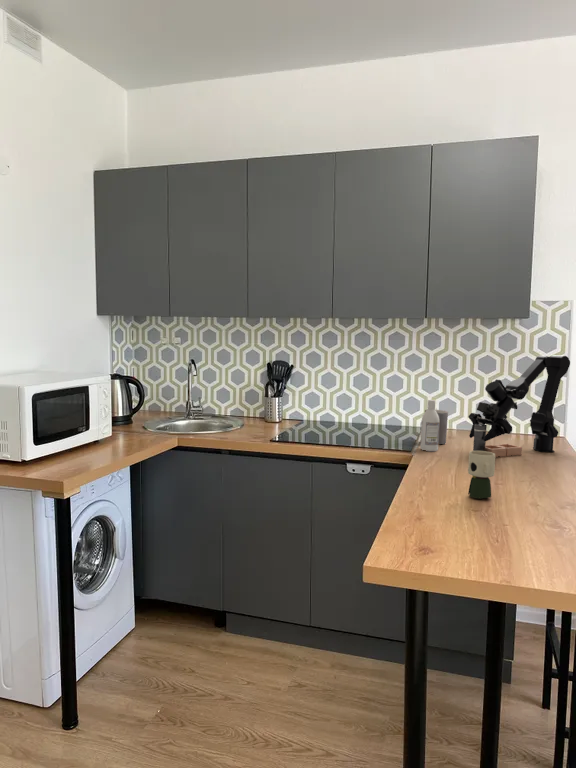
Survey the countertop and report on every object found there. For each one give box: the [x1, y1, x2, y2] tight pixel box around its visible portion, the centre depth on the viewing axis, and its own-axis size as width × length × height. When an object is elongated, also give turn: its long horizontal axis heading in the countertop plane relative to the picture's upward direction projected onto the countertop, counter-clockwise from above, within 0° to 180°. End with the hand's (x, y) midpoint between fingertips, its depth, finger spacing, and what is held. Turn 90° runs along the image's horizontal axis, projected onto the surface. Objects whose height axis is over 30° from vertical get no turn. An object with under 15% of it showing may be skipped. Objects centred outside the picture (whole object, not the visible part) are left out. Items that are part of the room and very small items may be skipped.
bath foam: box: [419, 399, 440, 452], centre depth 236 cm, size 7×7×20 cm
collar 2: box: [495, 443, 523, 457], centre depth 235 cm, size 7×7×3 cm
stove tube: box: [472, 424, 488, 451], centre depth 228 cm, size 4×4×12 cm
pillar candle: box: [424, 408, 449, 445], centre depth 253 cm, size 10×10×15 cm
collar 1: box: [485, 444, 507, 458], centre depth 231 cm, size 7×7×3 cm
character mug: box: [467, 450, 496, 500], centre depth 169 cm, size 11×7×13 cm, turn 1°
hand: (477, 438), depth 228 cm, fingers open, 7 cm apart
